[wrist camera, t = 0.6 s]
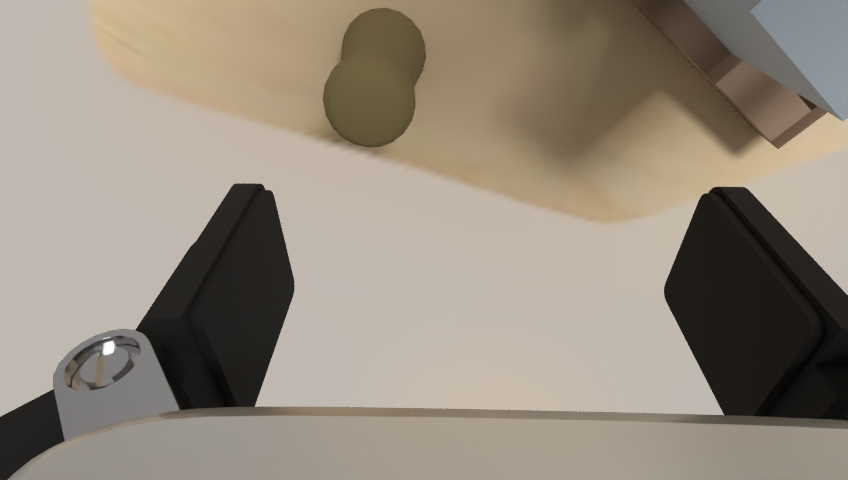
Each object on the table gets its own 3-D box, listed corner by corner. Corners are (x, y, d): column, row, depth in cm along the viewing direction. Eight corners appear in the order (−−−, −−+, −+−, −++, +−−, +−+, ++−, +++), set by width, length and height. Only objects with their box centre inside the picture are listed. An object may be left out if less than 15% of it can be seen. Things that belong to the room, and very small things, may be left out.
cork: (433, 84, 36) (432, 151, 27) (357, 101, 37) (332, 172, 28) (414, -2, 33) (406, 43, 24) (330, 19, 34) (292, 70, 25)
